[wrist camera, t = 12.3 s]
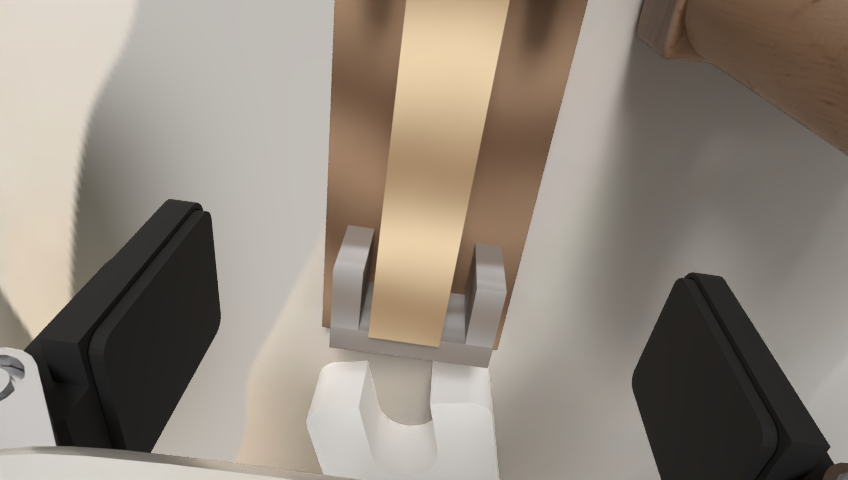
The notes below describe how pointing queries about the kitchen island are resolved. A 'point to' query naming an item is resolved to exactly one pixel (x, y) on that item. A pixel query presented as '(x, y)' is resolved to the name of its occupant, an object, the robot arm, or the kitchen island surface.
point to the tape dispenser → (404, 427)
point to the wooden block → (765, 51)
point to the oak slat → (432, 161)
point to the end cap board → (492, 184)
